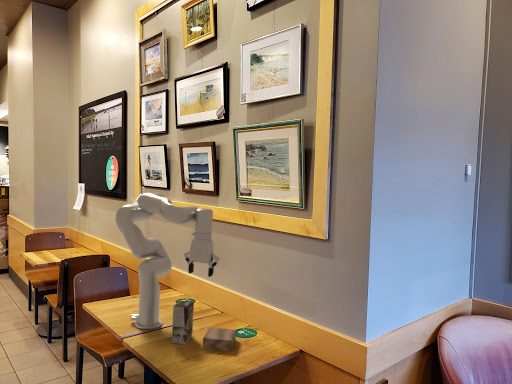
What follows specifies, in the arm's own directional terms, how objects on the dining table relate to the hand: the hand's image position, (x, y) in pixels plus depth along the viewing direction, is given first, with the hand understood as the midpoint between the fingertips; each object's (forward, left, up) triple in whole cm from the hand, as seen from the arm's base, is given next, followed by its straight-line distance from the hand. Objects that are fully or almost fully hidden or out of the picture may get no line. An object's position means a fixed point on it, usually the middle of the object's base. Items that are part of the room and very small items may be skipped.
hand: (200, 274), depth 172 cm
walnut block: (+11, -5, -29) cm, 31 cm away
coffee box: (-6, -4, -29) cm, 30 cm away
